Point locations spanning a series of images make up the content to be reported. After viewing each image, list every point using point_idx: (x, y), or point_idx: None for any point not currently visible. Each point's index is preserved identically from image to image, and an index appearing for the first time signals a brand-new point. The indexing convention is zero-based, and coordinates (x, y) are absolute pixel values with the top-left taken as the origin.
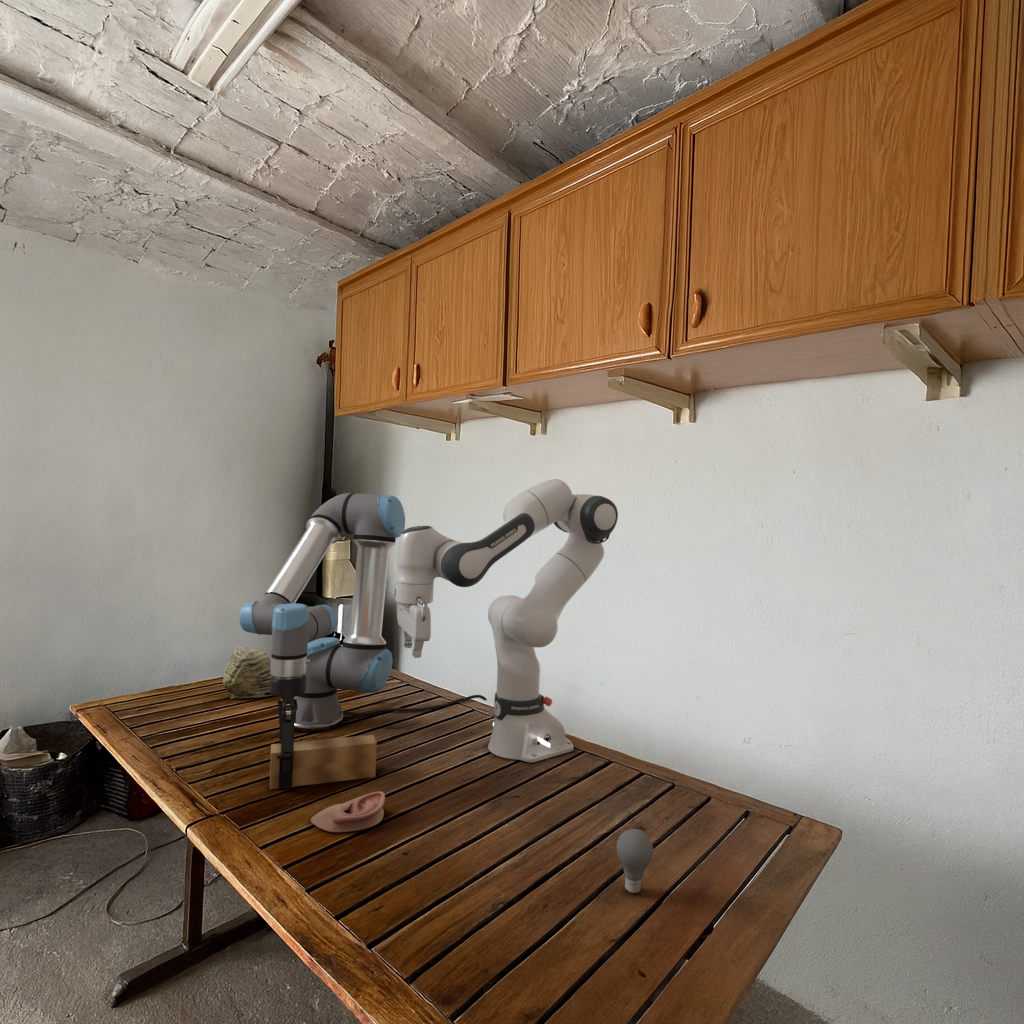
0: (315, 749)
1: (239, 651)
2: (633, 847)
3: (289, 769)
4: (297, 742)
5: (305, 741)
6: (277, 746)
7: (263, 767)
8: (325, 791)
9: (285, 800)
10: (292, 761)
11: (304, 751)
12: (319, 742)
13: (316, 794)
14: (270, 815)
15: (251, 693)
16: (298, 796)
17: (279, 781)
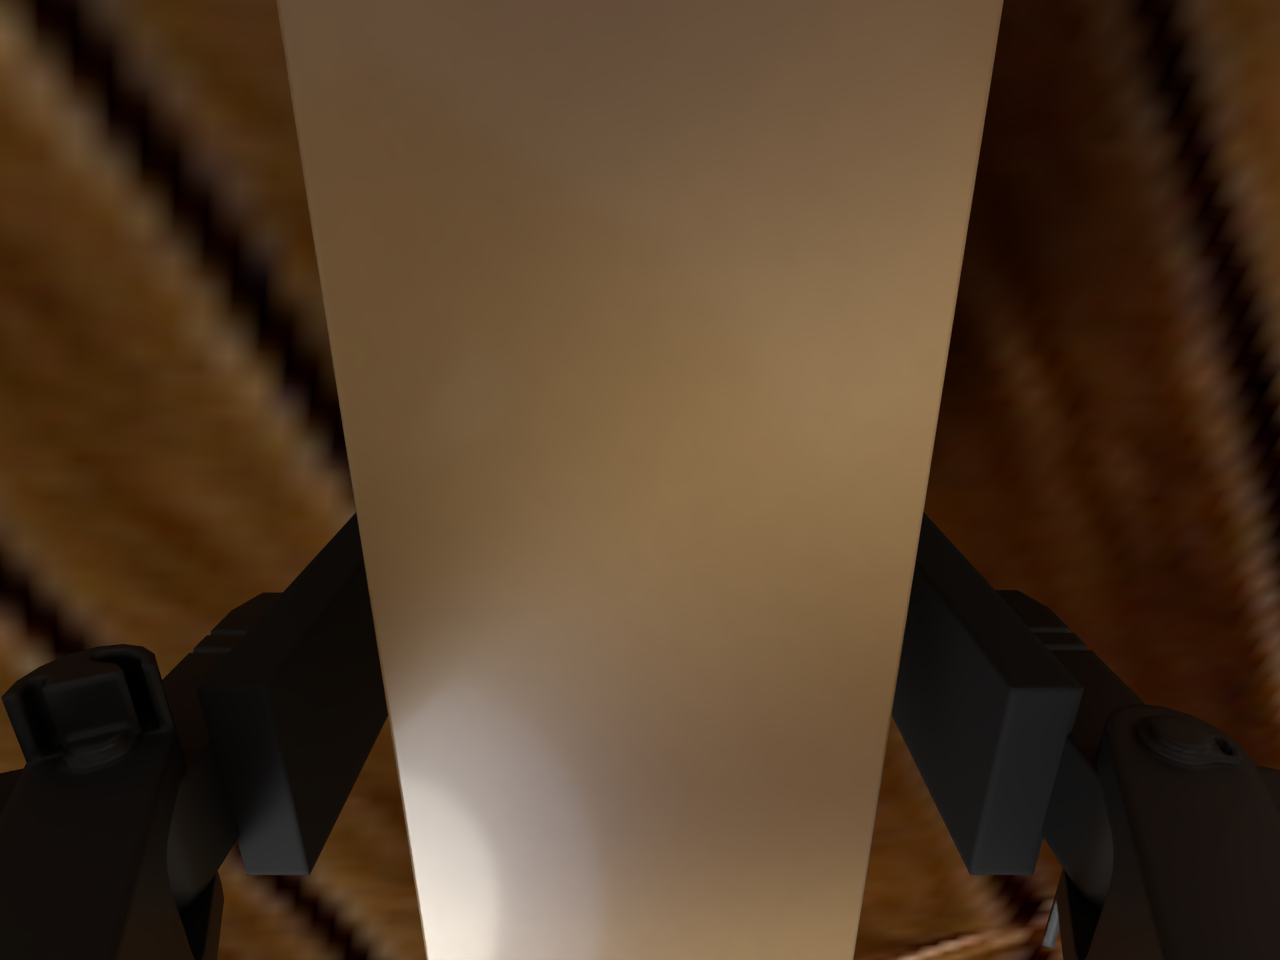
0: (963, 212)
1: None
2: None
3: (1062, 627)
4: (416, 608)
5: (373, 436)
6: (562, 921)
7: None
8: (1033, 77)
9: (1045, 516)
10: (1028, 637)
11: (922, 475)
12: (506, 48)
13: (1061, 198)
14: (1267, 635)
15: None
16: (1017, 395)
17: None
